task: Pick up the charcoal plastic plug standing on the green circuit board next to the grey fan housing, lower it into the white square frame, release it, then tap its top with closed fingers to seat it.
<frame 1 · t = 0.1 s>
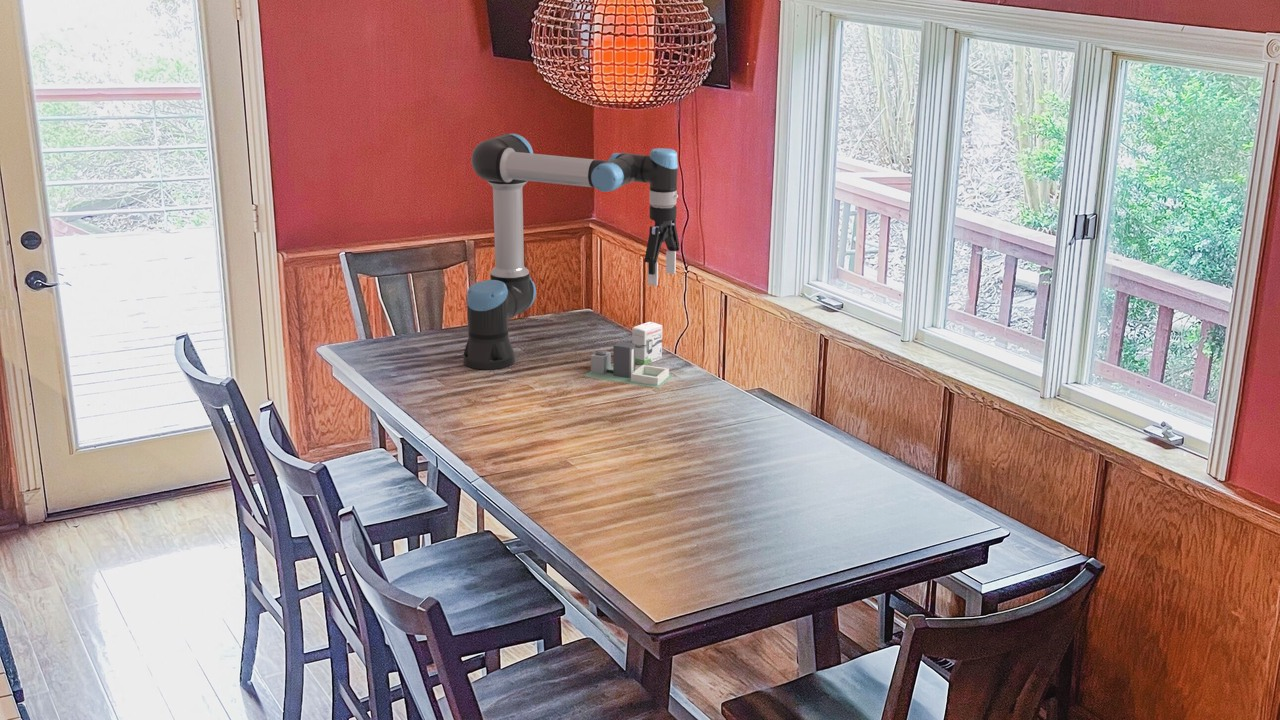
hand: (661, 279, 353), 28 cm above the table, fingers open, 13 cm apart
board: (628, 379, 356), on the table
fan housing: (600, 370, 359), resting on board
ink box: (646, 364, 369), on the table
plug: (624, 374, 356), point 1 cm above the table, touching board
white square frame: (650, 378, 353), resting on board
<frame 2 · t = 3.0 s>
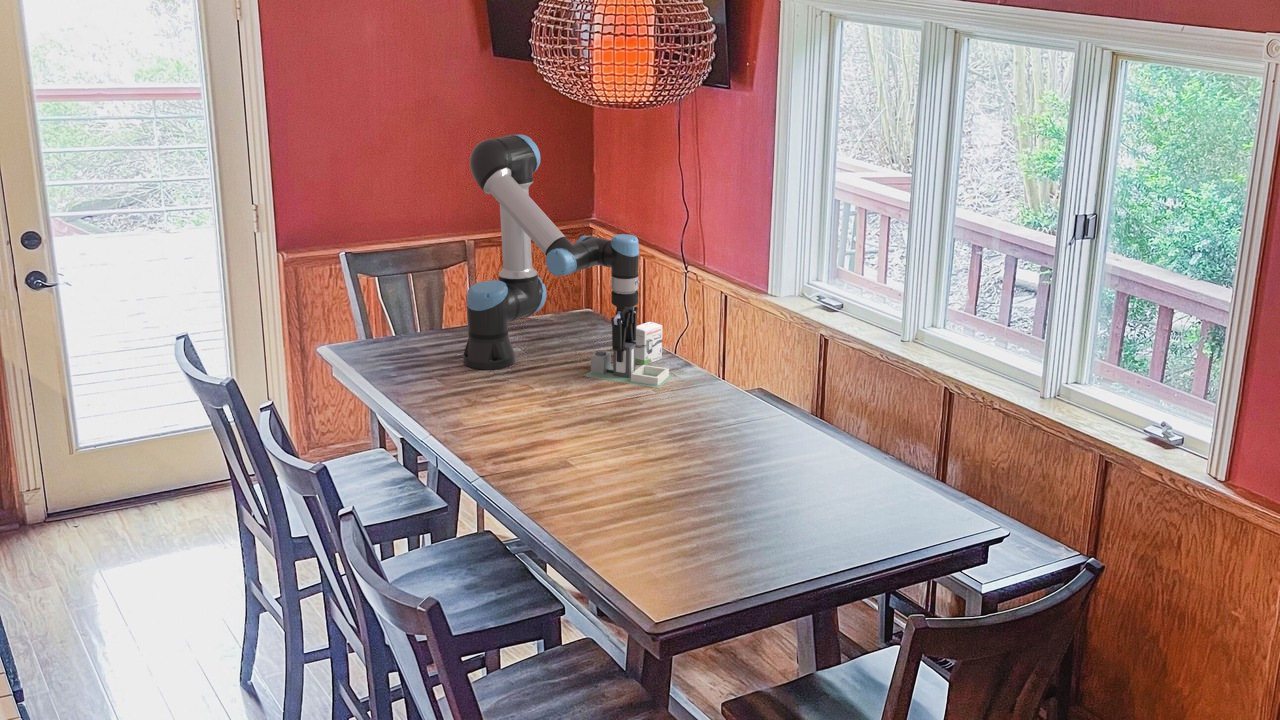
hand: (624, 369, 355), 3 cm above the table, fingers closed on plug, 4 cm apart
plug: (624, 374, 356), point 1 cm above the table, touching board, gripper
everything else where it was.
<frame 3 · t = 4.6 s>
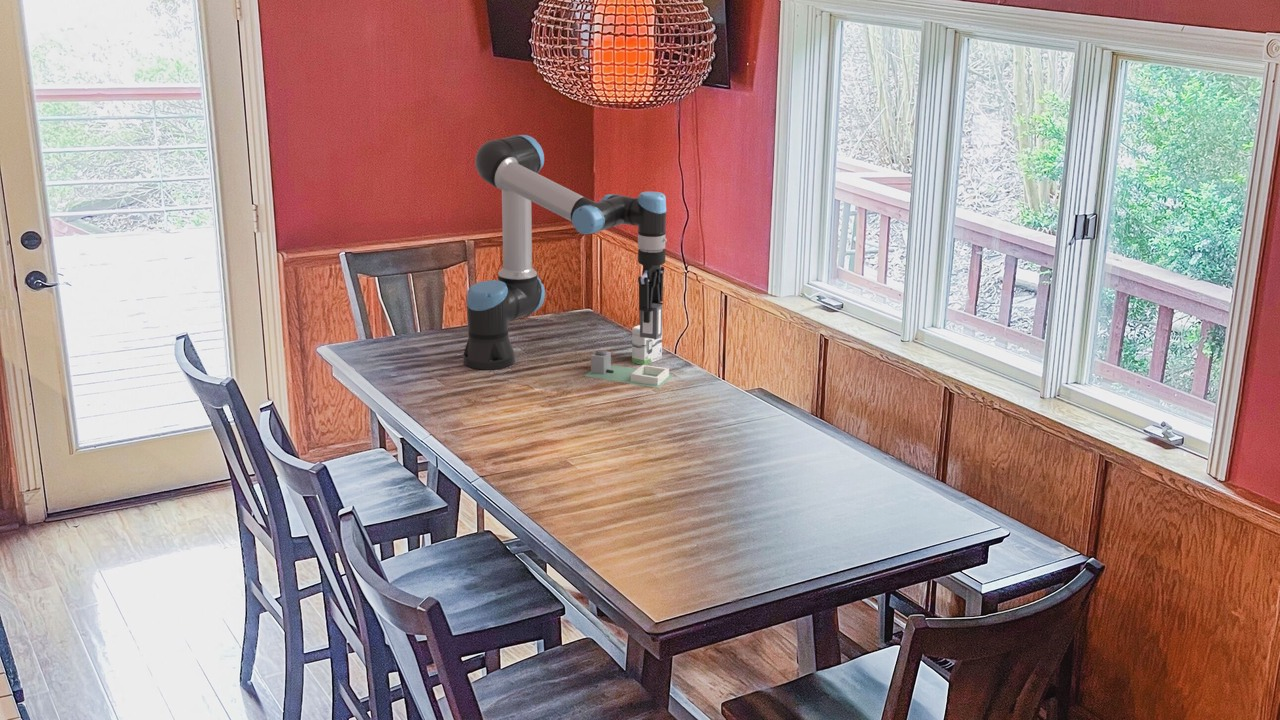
hand: (650, 330, 348), 16 cm above the table, fingers closed on plug, 4 cm apart
plug: (650, 336, 349), point 14 cm above the table, touching gripper
everything else where it was.
when the fingers open (4 cm above the table, at t = 6.3 s): plug stays where it is, resting on board.
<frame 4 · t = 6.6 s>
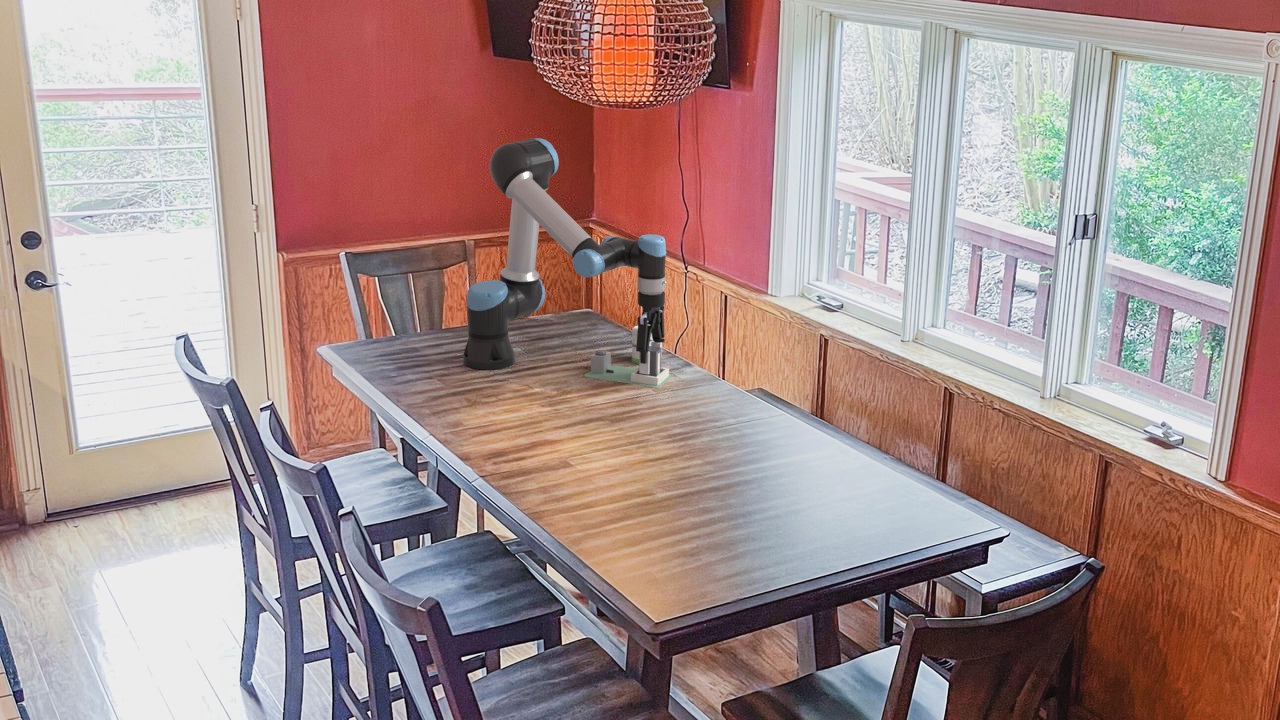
hand: (650, 368, 352), 4 cm above the table, fingers open, 8 cm apart
plug: (650, 378, 353), point 1 cm above the table, touching board
everything else where it was.
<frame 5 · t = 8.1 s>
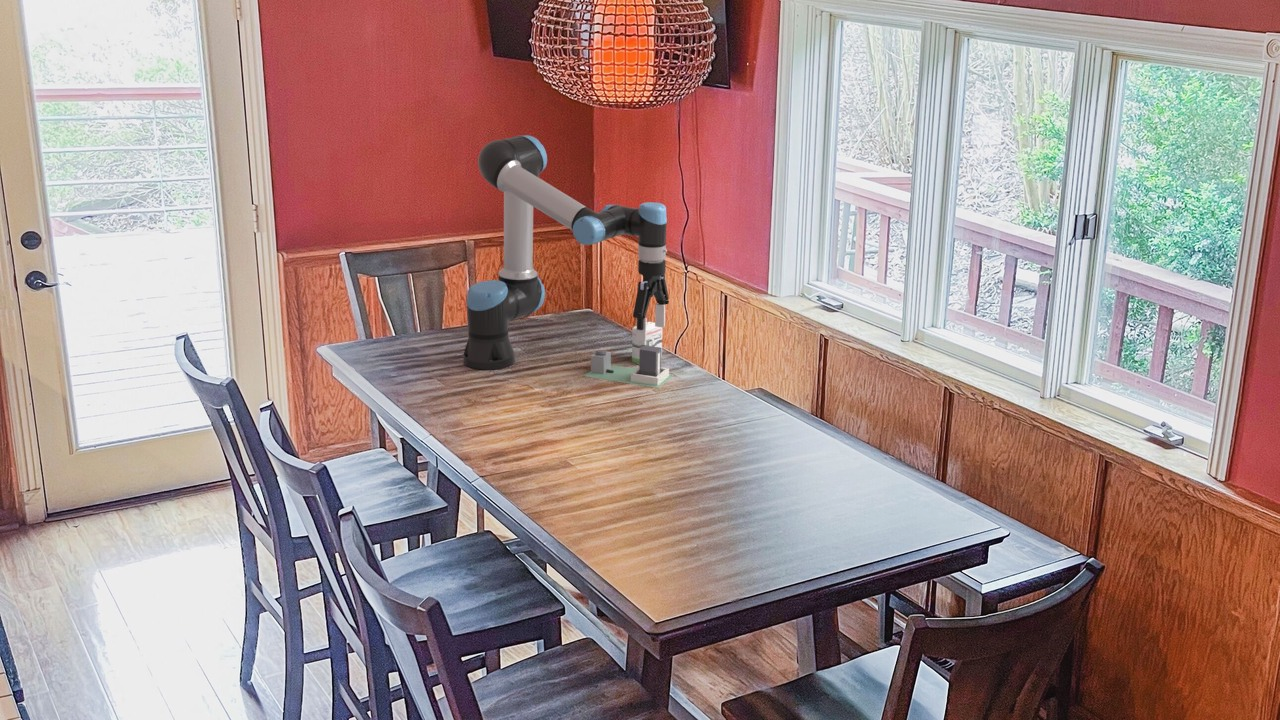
hand: (650, 333, 349), 15 cm above the table, fingers open, 13 cm apart
nothing on the table moved.
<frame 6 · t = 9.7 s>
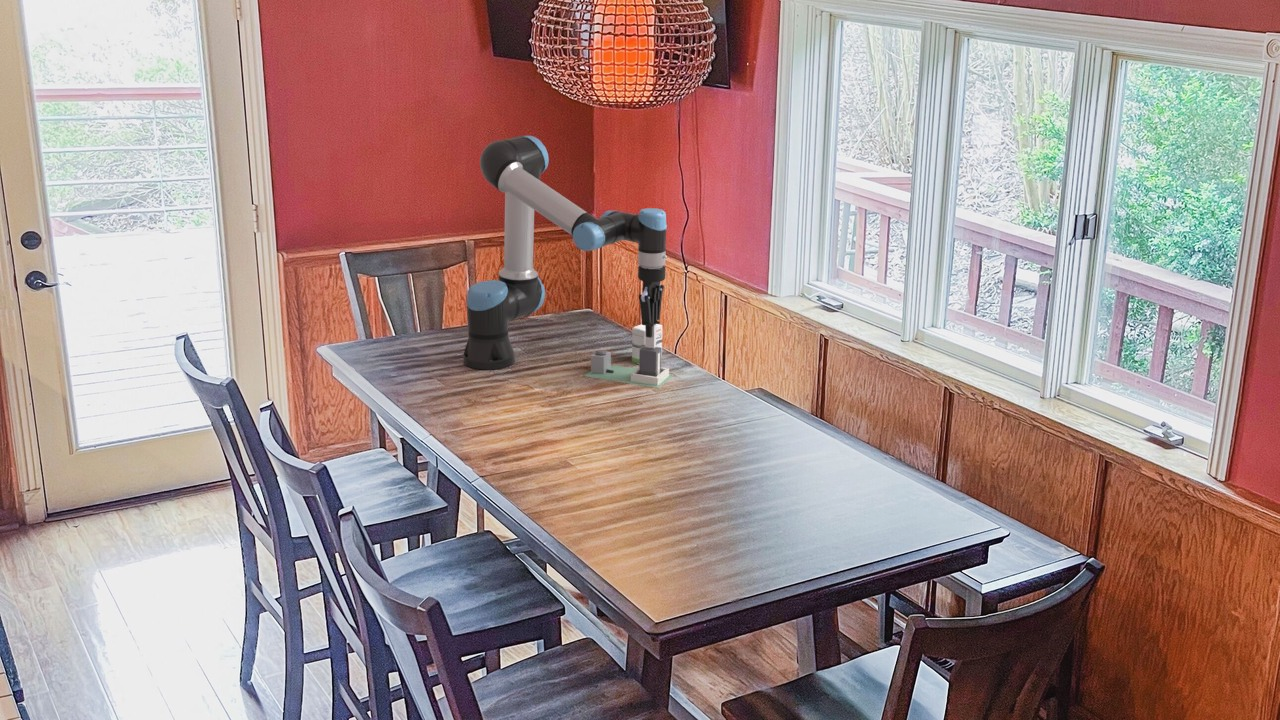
hand: (650, 346, 350), 11 cm above the table, fingers closed
nothing on the table moved.
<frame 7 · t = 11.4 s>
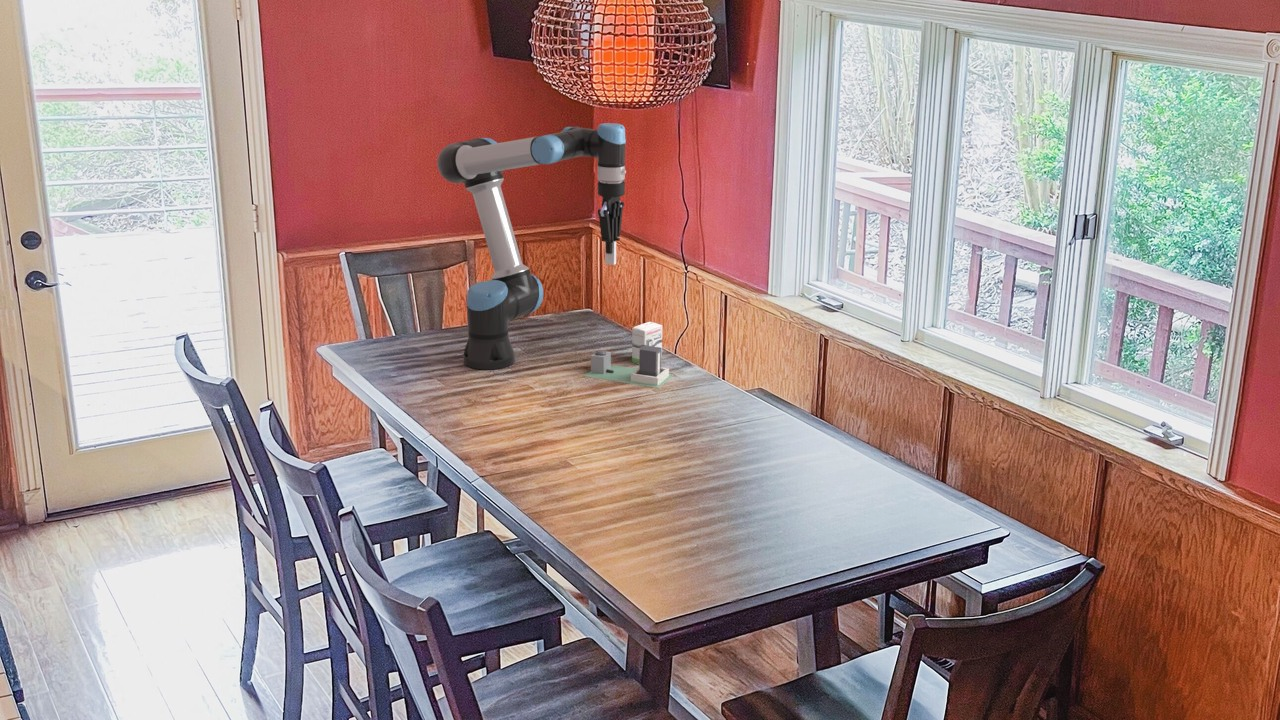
hand: (610, 263, 351), 32 cm above the table, fingers closed
nothing on the table moved.
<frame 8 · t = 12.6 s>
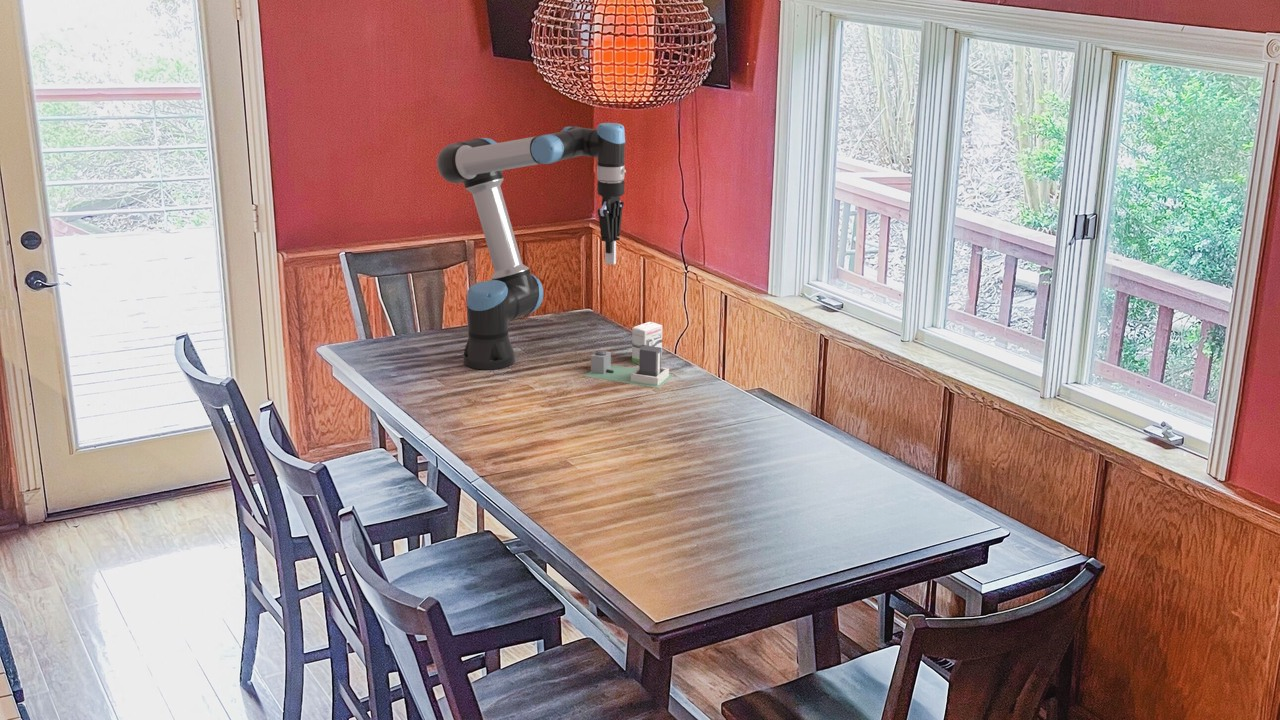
hand: (610, 263, 351), 32 cm above the table, fingers closed
nothing on the table moved.
at the end: plug 0.0 cm off-centre on the white square frame, point 0.0 cm above the white square frame's base; plug tilted 0°; the gripper is holding nothing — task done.
